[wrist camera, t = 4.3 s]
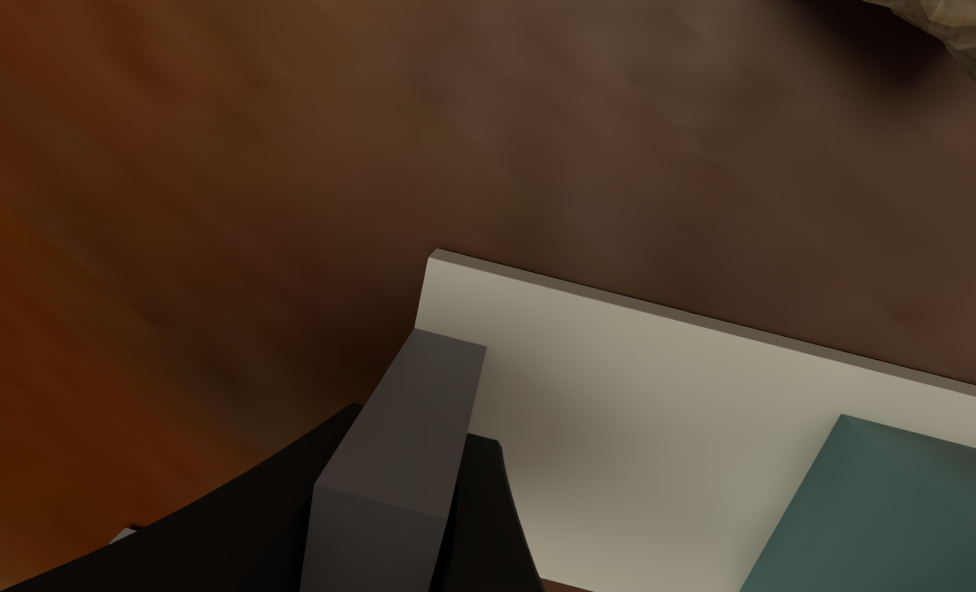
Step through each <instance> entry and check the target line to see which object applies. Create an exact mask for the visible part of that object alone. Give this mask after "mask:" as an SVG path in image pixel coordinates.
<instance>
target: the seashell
mask: <svg viewBox="0 0 976 592" xmlns="http://www.w3.org/2000/svg"><path fill="white" fill-rule="evenodd" d="M863 1H865V2H869V3H874V4H878V5H882V6H887V7H890V9H891V12H892V13H894V14H896V15H897V16H899V17H901V18H902V19H904V20H906V21H907V22H909V23H911V24H912V25H914V26H915V27H917V28H919V29H921V30H923V31H925V32H926V33H928V34H930V35H932V36H934V37H936V38H938V39H940V40H942V41H943V42H944V44H945V46H946V48H947V50H948V52H949V53H950V54H951V55H952V57H953V58H954V59H955V60H956V62H957V63H958V64H959V65H960V66H961V68H962V69H963V70H964V71H965V73H966V74H967V75H968V76H969V77H970V79H972V80H974V81H975V82H976V0H863Z"/></svg>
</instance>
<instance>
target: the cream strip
mask: <svg viewBox="0 0 976 592" xmlns="http://www.w3.org/2000/svg"><path fill="white" fill-rule="evenodd" d="M841 414H845V415H849V416H853V417H857V418H861V419H865V420H868V421H872V422H876V423H880V424H884V425H888V426H892V427H896V428H900V429H904V430H907V431H911V432H915V433H919V434H923V435H927V436H931V437H935V438H939V439H943V440H946V441H950V442H954V443H958V444H962V445H966V446H970V447H974V448H976V385H972V384H968V383H964V382H960V381H956V380H952V379H948V378H944V377H941V376H937V375H933V374H929V373H925V372H921V371H917V370H913V369H909V368H905V367H901V366H897V365H893V364H889V363H886V362H882V361H878V360H874V359H870V358H866V357H862V356H858V355H854V354H850V353H846V352H842V351H838V350H835V349H831V348H827V347H823V346H819V345H815V344H811V343H807V342H803V341H799V340H795V339H791V338H787V337H783V336H780V335H776V334H772V333H768V332H764V331H760V330H756V329H752V328H748V327H744V326H740V325H736V324H732V323H729V322H725V321H721V320H717V319H713V318H709V317H705V316H701V315H697V314H693V313H689V312H685V311H681V310H677V309H674V308H670V307H666V306H662V305H658V304H654V303H650V302H646V301H642V300H638V299H634V298H630V297H626V296H623V295H619V294H615V293H611V292H607V291H603V290H599V289H595V288H591V287H587V286H583V285H579V284H575V283H571V282H568V281H564V280H560V279H556V278H552V277H548V276H544V275H540V274H536V273H532V272H528V271H524V270H520V269H516V268H513V267H509V266H505V265H501V264H497V263H493V262H489V261H485V260H481V259H477V258H473V257H469V256H465V255H462V254H458V253H454V252H450V251H446V250H442V249H438V248H436V250H435V251H434V252H433V253H432V254H431V255H430V256H429V257H428V262H427V267H426V272H425V277H424V282H423V287H422V292H421V297H420V302H419V307H418V312H417V317H416V322H415V327H414V329H413V331H412V332H411V334H410V336H409V337H408V339H407V340H406V342H405V343H404V345H403V346H402V348H401V350H400V351H399V353H398V354H397V356H396V357H395V359H394V361H393V362H392V364H391V365H390V367H389V368H388V370H387V371H386V373H385V375H384V376H383V378H382V379H381V381H380V382H379V384H378V385H377V387H376V389H375V390H374V392H373V393H372V395H371V396H370V398H369V400H368V401H367V403H366V404H365V406H364V407H363V409H362V410H361V412H360V414H359V415H358V417H357V418H356V420H355V421H354V423H353V424H352V426H351V428H350V429H349V431H348V432H347V434H346V435H345V437H344V439H343V440H342V442H341V443H340V445H339V446H338V448H337V449H336V451H335V453H334V454H333V456H332V457H331V459H330V460H329V462H328V463H327V465H326V467H325V468H324V470H323V471H322V473H321V474H320V476H319V477H318V479H317V481H316V482H315V484H314V489H313V496H312V504H311V511H310V518H309V525H308V533H307V540H306V547H305V555H304V562H303V569H302V576H301V584H300V591H299V592H428V591H429V587H430V583H431V579H432V576H433V572H434V568H435V564H436V561H437V557H438V553H439V549H440V545H441V542H442V538H443V534H444V530H445V527H446V523H447V519H448V515H449V510H450V506H451V502H452V497H453V493H454V488H455V484H456V480H457V475H458V471H459V466H460V462H461V458H462V453H463V449H464V445H465V440H466V436H467V433H471V434H475V435H479V436H483V437H486V438H490V439H494V440H498V442H499V443H500V445H501V447H502V452H503V458H504V463H505V468H506V473H507V477H508V481H509V485H510V489H511V493H512V496H513V500H514V504H515V507H516V510H517V514H518V517H519V520H520V523H521V526H522V529H523V532H524V535H525V538H526V541H527V544H528V547H529V550H530V553H531V555H532V558H533V561H534V564H535V566H536V569H537V571H538V574H539V577H540V578H544V579H548V580H552V581H555V582H559V583H563V584H567V585H571V586H574V587H578V588H582V589H586V590H590V591H593V592H739V591H740V589H741V587H742V586H743V584H744V582H745V580H746V579H747V577H748V575H749V573H750V572H751V570H752V568H753V566H754V565H755V563H756V561H757V559H758V558H759V556H760V554H761V552H762V551H763V549H764V547H765V545H766V544H767V542H768V540H769V538H770V537H771V535H772V533H773V532H774V530H775V528H776V526H777V525H778V523H779V521H780V519H781V518H782V516H783V514H784V512H785V511H786V509H787V507H788V505H789V504H790V502H791V500H792V498H793V497H794V495H795V493H796V491H797V490H798V488H799V486H800V484H801V483H802V481H803V479H804V477H805V476H806V474H807V472H808V470H809V469H810V467H811V465H812V464H813V462H814V460H815V458H816V457H817V455H818V453H819V451H820V450H821V448H822V446H823V444H824V443H825V441H826V439H827V437H828V436H829V434H830V432H831V430H832V429H833V427H834V425H835V423H836V422H837V420H838V418H839V416H840V415H841Z"/></svg>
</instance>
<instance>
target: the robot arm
mask: <svg viewBox="0 0 976 592" xmlns="http://www.w3.org/2000/svg"><path fill="white" fill-rule="evenodd" d="M363 407H364V406H363V405H360V404H356V403H352V404H350V405H348V406H346V407H345V408H343V409H342V410H340V411H339V412H337V413H336V414H334V415H333V416H331V417H330V418H329V419H327V420H326V421H324V422H323V423H321V424H320V425H318V426H317V427H315V428H314V429H312V430H311V431H309V432H308V433H306V434H305V435H304V436H302V437H301V438H299V439H298V440H296V441H294V442H293V443H291V444H290V445H288V446H287V447H285V448H283V449H282V450H280V451H279V452H277V453H276V454H274V455H272V456H271V457H269V458H268V459H266V460H265V461H263V462H261V463H260V464H258V465H257V466H255V467H253V468H252V469H250V470H248V471H247V472H245V473H243V474H242V475H240V476H238V477H236V478H235V479H233V480H231V481H229V482H228V483H226V484H224V485H222V486H221V487H219V488H217V489H215V490H214V491H212V492H210V493H208V494H207V495H205V496H203V497H201V498H200V499H198V500H196V501H194V502H192V503H190V504H189V505H187V506H185V507H183V508H181V509H179V510H177V511H175V512H173V513H172V514H170V515H168V516H166V517H164V518H162V519H160V520H158V521H156V522H154V523H152V524H150V525H148V526H146V527H144V528H142V529H140V530H138V531H136V532H134V533H132V534H130V535H128V536H125V537H123V538H121V539H119V540H117V541H115V542H113V543H111V544H109V545H107V546H105V547H102V548H100V549H98V550H96V551H94V552H91V553H89V554H87V555H85V556H82V557H80V558H78V559H75V560H73V561H71V562H68V563H66V564H63V565H61V566H59V567H56V568H54V569H52V570H49V571H47V572H45V573H42V574H40V575H38V576H35V577H33V578H30V579H28V580H26V581H23V582H21V583H19V584H16V585H14V586H12V587H9V588H7V589H4V590H2V591H0V592H299V591H300V584H301V576H302V569H303V562H304V555H305V547H306V540H307V533H308V525H309V518H310V511H311V504H312V496H313V489H314V484H315V482H316V481H317V479H318V477H319V476H320V474H321V473H322V471H323V470H324V468H325V467H326V465H327V463H328V462H329V460H330V459H331V457H332V456H333V454H334V453H335V451H336V449H337V448H338V446H339V445H340V443H341V442H342V440H343V439H344V437H345V435H346V434H347V432H348V431H349V429H350V428H351V426H352V424H353V423H354V421H355V420H356V418H357V417H358V415H359V414H360V412H361V410H362V409H363ZM428 592H545V589H544V587H543V584H542V582H541V579H540V577H539V574H538V571H537V569H536V566H535V564H534V561H533V558H532V555H531V553H530V550H529V547H528V544H527V541H526V538H525V535H524V532H523V529H522V526H521V523H520V520H519V517H518V514H517V510H516V507H515V504H514V500H513V496H512V493H511V489H510V485H509V481H508V477H507V473H506V468H505V463H504V458H503V452H502V447H501V445H500V443H499V442H498V440H494V439H490V438H486V437H483V436H479V435H475V434H471V433H467V436H466V440H465V445H464V449H463V453H462V458H461V462H460V466H459V471H458V475H457V480H456V484H455V488H454V493H453V497H452V502H451V506H450V510H449V515H448V519H447V523H446V527H445V530H444V534H443V538H442V542H441V545H440V549H439V553H438V557H437V561H436V564H435V568H434V572H433V576H432V579H431V583H430V587H429V591H428Z"/></svg>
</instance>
